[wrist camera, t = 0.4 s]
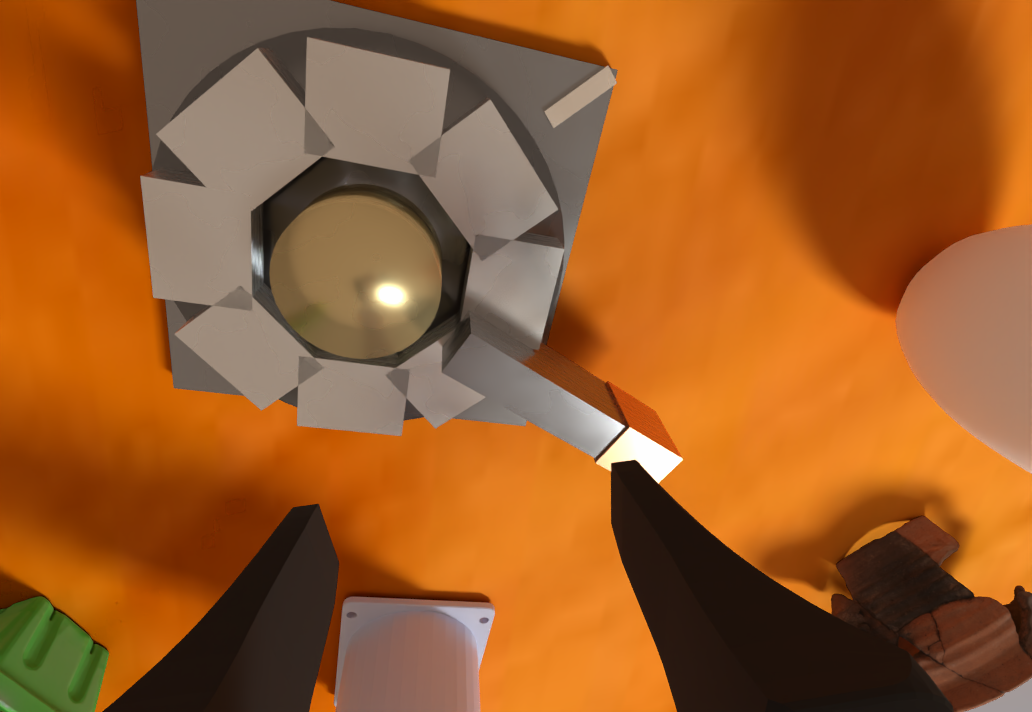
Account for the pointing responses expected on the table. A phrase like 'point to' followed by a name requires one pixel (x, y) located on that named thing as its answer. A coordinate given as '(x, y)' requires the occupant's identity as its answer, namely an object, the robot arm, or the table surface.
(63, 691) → the fruit basket
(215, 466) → the table surface
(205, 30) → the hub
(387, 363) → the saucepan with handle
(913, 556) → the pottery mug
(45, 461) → the table surface
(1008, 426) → the air blower bulb
